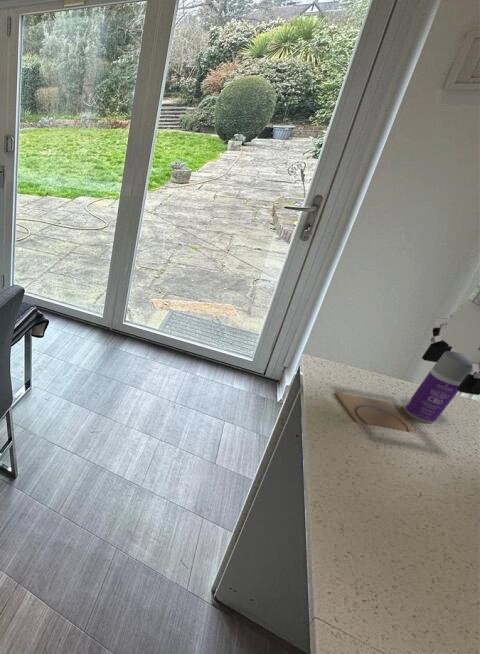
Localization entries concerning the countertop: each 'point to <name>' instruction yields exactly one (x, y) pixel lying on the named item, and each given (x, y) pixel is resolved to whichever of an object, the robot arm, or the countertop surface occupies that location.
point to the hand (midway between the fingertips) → (448, 375)
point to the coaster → (374, 412)
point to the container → (439, 387)
